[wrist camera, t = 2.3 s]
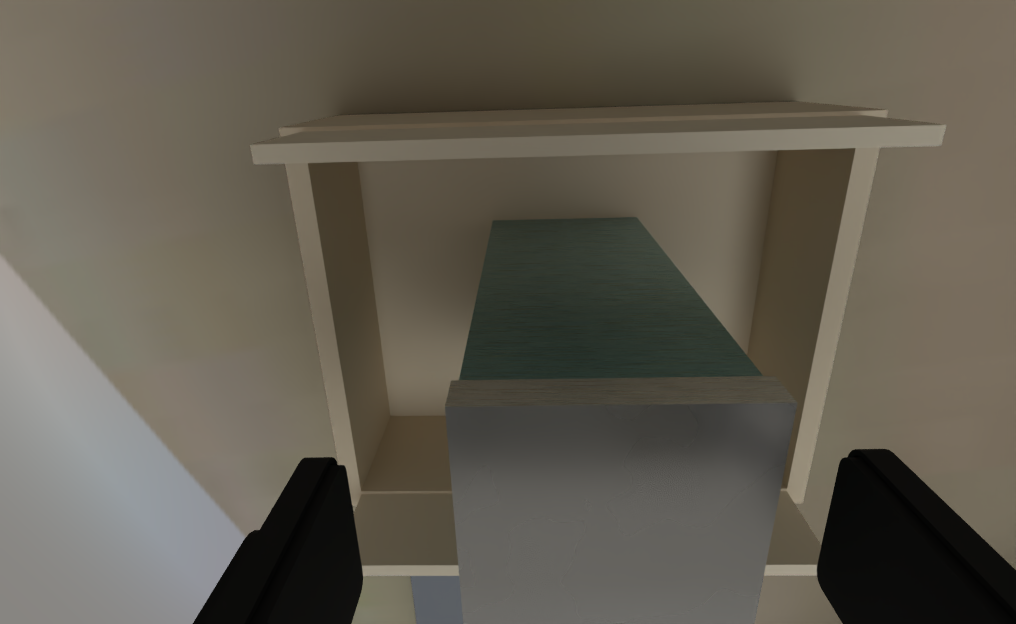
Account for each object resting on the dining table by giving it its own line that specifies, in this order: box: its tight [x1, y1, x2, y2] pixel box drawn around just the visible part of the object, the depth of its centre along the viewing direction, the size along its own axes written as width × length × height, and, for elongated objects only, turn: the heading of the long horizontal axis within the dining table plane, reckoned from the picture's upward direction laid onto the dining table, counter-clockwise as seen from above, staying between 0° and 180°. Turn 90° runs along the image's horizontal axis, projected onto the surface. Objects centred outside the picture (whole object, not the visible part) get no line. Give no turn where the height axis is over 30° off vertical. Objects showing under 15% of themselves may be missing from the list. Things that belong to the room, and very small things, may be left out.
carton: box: [250, 101, 946, 576], centre depth 17 cm, size 12×15×8 cm
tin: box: [445, 217, 797, 624], centre depth 15 cm, size 5×5×12 cm
